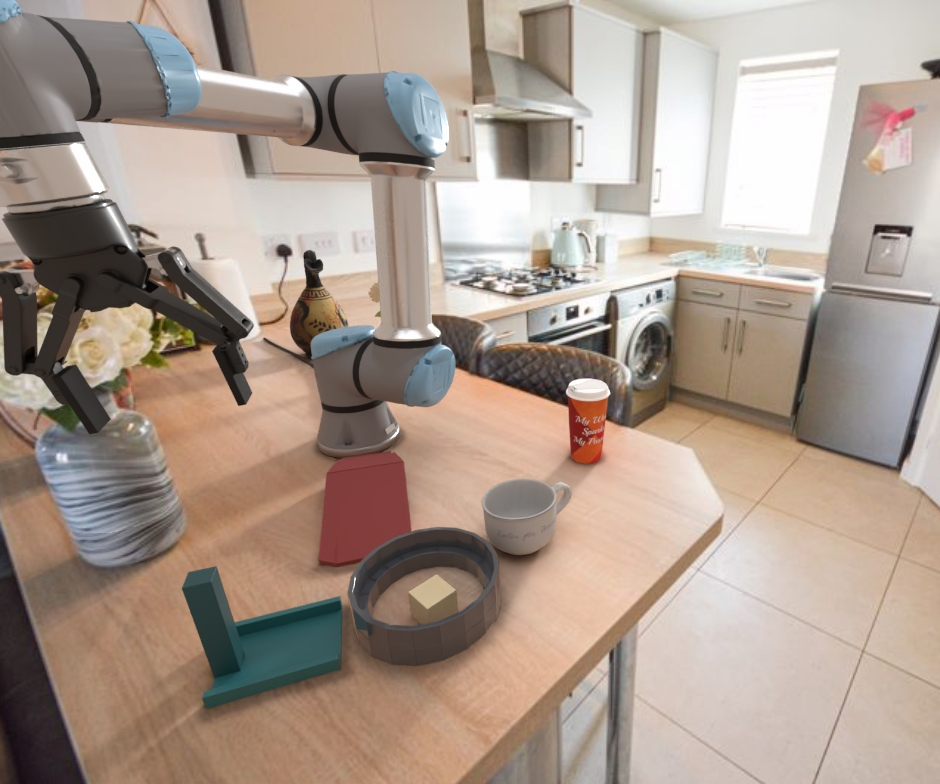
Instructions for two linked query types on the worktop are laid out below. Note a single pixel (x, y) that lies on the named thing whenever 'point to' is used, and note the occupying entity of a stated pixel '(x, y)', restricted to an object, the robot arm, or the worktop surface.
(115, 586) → the worktop surface
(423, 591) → the cream block
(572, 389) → the coffee cup
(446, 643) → the dark grey ring
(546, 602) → the worktop surface
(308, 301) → the ceramic jug
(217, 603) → the teal post tray
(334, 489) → the red flat panel
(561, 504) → the teacup
